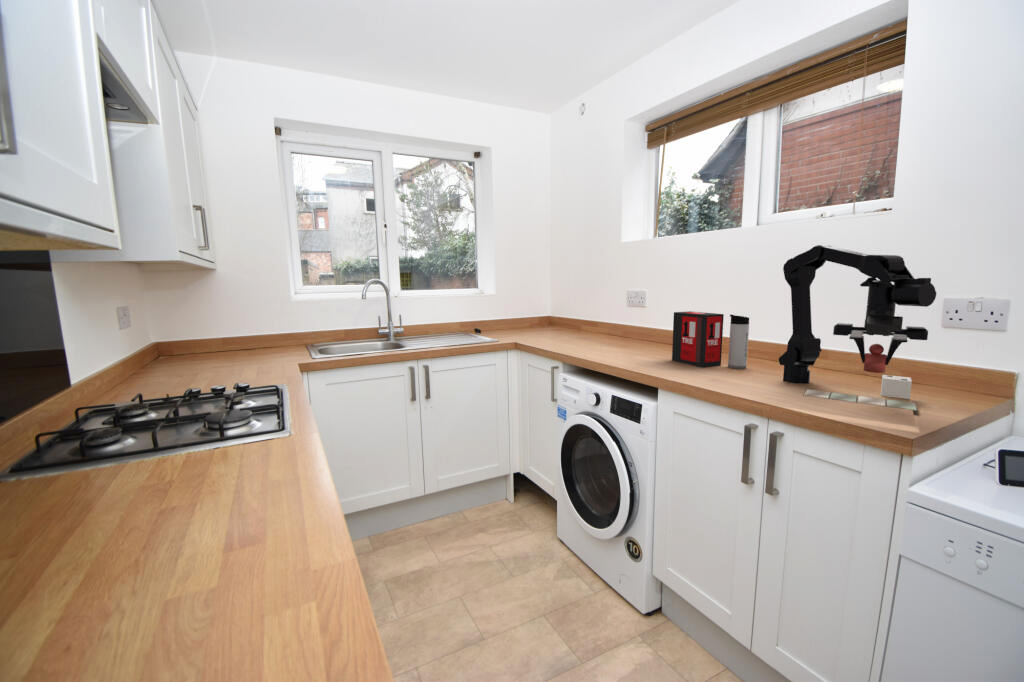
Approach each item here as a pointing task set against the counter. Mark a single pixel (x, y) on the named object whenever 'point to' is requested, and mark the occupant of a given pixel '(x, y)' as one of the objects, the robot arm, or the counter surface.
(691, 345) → the cleaning product box
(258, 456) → the counter surface
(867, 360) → the pawn
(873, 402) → the board
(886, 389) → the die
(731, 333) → the travel mug
